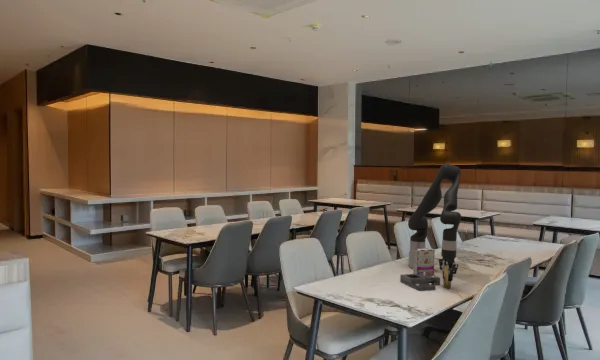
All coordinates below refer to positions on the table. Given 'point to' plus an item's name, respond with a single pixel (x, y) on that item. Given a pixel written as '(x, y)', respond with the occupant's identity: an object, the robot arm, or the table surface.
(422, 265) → the candy bar box
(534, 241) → the table surface
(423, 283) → the lower chain end
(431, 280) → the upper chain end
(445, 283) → the brass pin
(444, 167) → the robot arm
